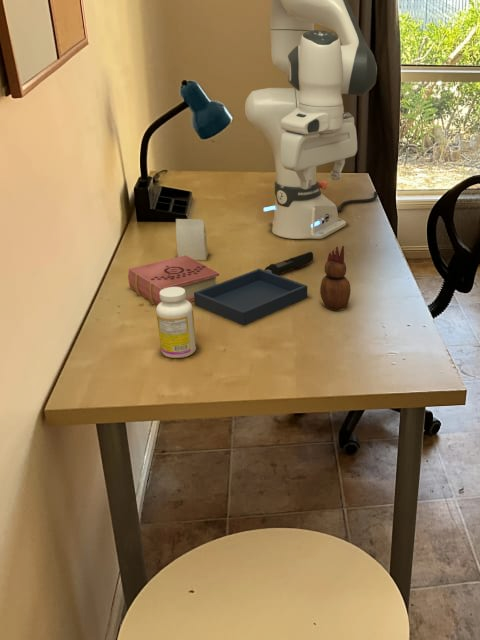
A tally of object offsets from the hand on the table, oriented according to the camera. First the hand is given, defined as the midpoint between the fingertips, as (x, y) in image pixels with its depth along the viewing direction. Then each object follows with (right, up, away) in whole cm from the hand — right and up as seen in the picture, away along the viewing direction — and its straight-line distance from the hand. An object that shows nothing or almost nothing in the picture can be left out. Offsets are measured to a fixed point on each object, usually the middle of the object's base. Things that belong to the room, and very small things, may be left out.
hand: (321, 183), depth 159 cm
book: (-35, -22, +12) cm, 44 cm away
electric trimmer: (-12, -16, +27) cm, 34 cm away
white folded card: (-37, -12, +32) cm, 50 cm away
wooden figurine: (+2, -26, +9) cm, 28 cm away
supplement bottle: (-26, -36, -13) cm, 46 cm away
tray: (-17, -25, +10) cm, 31 cm away
